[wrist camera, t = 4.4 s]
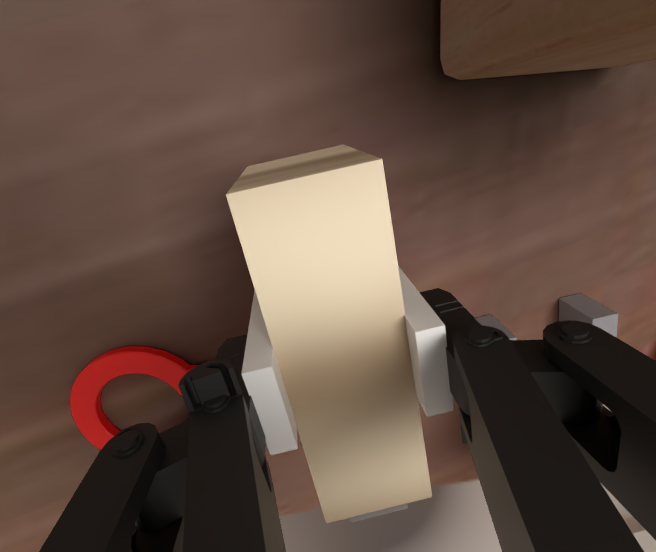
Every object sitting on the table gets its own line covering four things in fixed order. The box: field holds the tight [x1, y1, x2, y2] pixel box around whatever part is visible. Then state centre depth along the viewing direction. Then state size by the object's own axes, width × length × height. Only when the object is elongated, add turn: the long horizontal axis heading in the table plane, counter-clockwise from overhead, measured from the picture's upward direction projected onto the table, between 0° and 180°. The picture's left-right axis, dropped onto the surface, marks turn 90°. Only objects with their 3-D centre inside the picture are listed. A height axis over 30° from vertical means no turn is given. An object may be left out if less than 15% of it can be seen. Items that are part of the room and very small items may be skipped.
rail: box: [226, 145, 432, 523], centre depth 14 cm, size 14×4×6 cm, turn 12°
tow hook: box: [70, 346, 213, 450], centre depth 19 cm, size 8×13×9 cm
